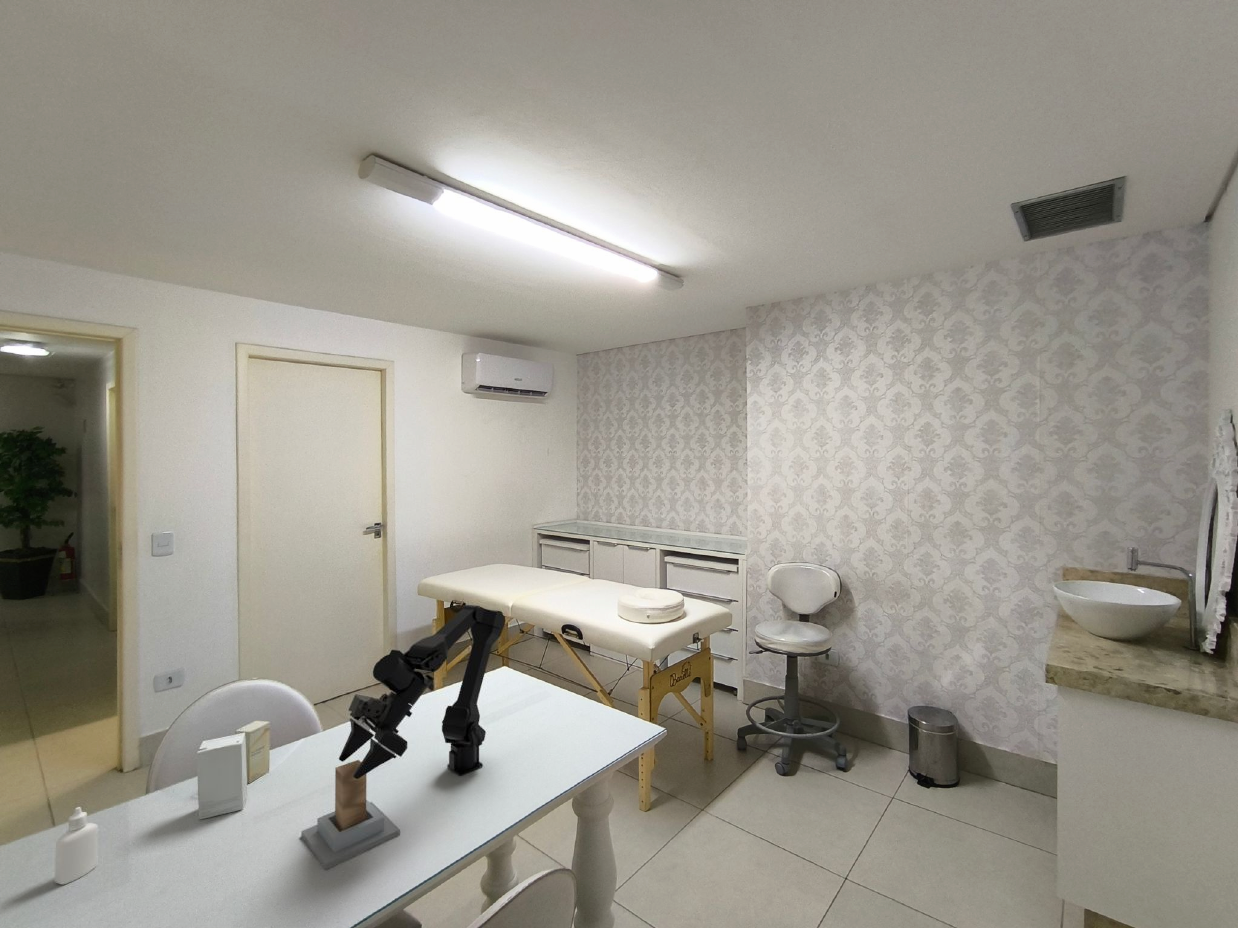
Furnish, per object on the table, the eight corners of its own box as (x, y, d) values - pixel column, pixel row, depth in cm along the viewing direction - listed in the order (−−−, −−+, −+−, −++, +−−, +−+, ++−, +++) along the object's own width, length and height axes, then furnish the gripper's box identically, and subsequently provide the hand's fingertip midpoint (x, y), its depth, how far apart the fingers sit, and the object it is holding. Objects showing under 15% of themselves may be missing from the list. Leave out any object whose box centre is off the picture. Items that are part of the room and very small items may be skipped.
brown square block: (358, 820, 115) (358, 759, 116) (366, 830, 112) (366, 767, 112) (335, 829, 112) (335, 767, 112) (342, 840, 109) (342, 775, 109)
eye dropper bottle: (55, 876, 101) (56, 809, 101) (97, 861, 105) (98, 796, 105) (54, 888, 98) (55, 819, 98) (98, 872, 102) (99, 806, 102)
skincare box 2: (248, 784, 131) (249, 732, 132) (233, 782, 132) (233, 730, 132) (270, 770, 137) (271, 721, 138) (255, 768, 138) (255, 719, 139)
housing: (371, 806, 122) (371, 790, 122) (399, 834, 112) (399, 816, 112) (301, 835, 112) (301, 818, 112) (325, 869, 102) (325, 850, 102)
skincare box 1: (247, 797, 126) (248, 730, 126) (242, 811, 120) (243, 742, 121) (202, 806, 122) (203, 738, 123) (195, 821, 117) (196, 750, 117)
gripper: (360, 667, 123) (304, 734, 115) (391, 691, 109) (330, 768, 101) (395, 694, 128) (344, 759, 120) (430, 719, 114) (375, 794, 107)
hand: (347, 768), depth 112 cm, fingers open, 9 cm apart
